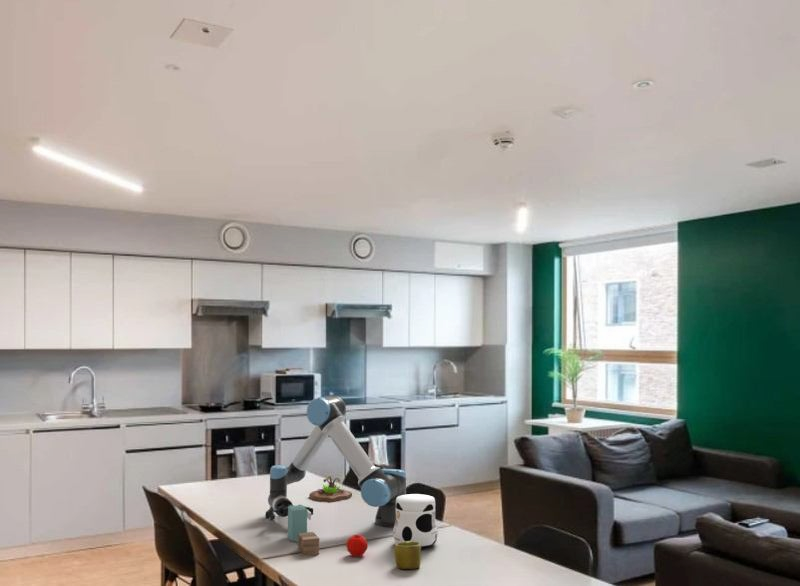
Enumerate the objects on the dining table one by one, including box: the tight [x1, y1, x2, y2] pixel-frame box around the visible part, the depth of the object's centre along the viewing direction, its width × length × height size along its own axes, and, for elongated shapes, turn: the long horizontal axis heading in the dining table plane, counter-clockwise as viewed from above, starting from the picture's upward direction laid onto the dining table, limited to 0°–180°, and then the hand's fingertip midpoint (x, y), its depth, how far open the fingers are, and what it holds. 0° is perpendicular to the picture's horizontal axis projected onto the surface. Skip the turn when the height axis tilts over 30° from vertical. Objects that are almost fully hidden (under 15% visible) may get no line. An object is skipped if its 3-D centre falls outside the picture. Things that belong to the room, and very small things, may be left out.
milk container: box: [392, 493, 439, 549], centre depth 276 cm, size 17×17×18 cm
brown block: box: [297, 531, 320, 557], centre depth 265 cm, size 9×6×6 cm
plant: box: [308, 475, 353, 503], centre depth 357 cm, size 20×20×11 cm
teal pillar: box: [287, 504, 308, 542], centre depth 283 cm, size 8×6×12 cm
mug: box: [393, 541, 422, 570], centre depth 250 cm, size 12×10×10 cm
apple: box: [345, 534, 368, 558], centre depth 261 cm, size 8×8×7 cm
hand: (294, 517), depth 287 cm, fingers open, 13 cm apart
